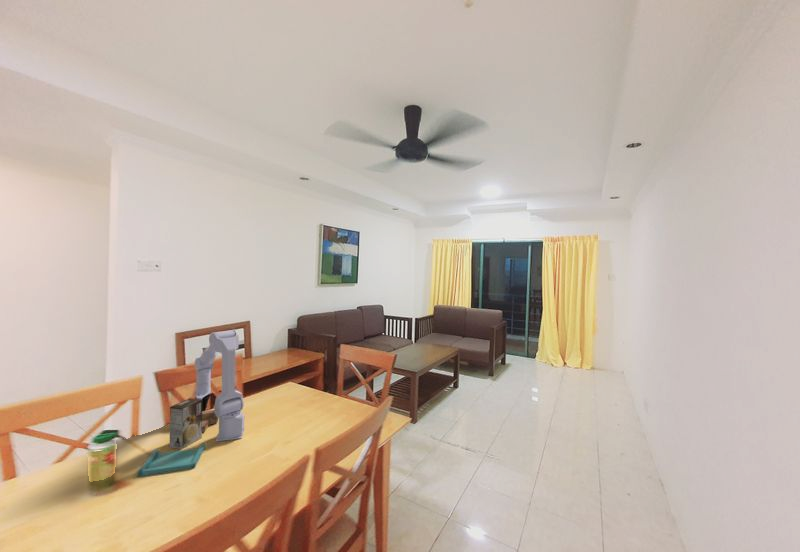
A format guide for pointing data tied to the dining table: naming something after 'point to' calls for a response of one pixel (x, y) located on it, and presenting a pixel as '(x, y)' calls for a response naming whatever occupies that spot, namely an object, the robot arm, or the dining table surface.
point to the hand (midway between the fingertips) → (202, 411)
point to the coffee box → (185, 423)
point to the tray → (171, 461)
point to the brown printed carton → (208, 419)
